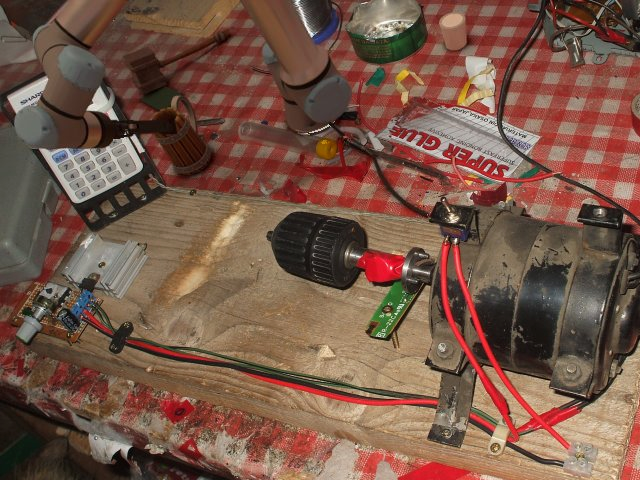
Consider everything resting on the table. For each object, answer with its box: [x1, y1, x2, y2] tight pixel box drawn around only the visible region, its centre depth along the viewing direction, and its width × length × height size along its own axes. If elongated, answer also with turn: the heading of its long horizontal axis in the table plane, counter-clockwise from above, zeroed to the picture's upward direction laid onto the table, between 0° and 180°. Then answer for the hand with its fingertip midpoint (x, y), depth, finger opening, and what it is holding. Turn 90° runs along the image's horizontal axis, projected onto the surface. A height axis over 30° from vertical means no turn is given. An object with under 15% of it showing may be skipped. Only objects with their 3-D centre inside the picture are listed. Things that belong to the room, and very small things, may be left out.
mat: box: [139, 85, 184, 112], centre depth 184 cm, size 12×8×1 cm, turn 50°
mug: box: [149, 95, 213, 176], centre depth 161 cm, size 16×11×15 cm
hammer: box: [122, 28, 231, 95], centre depth 188 cm, size 7×33×10 cm, turn 130°
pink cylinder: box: [438, 11, 468, 51], centre depth 163 cm, size 7×7×7 cm
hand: (149, 131), depth 147 cm, fingers open, 13 cm apart
